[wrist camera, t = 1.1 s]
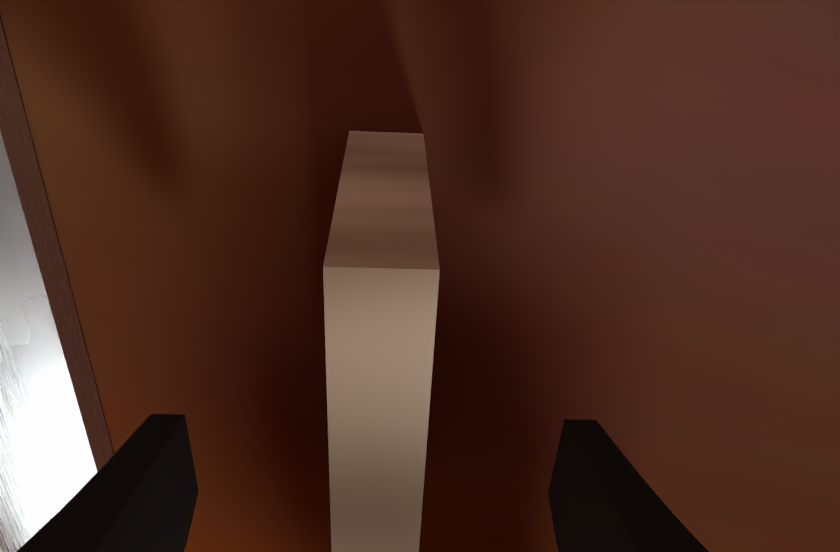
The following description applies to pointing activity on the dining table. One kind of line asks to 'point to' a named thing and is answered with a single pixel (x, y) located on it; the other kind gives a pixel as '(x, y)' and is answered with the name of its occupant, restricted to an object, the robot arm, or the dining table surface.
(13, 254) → the door track
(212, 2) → the dining table surface
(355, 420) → the door panel
